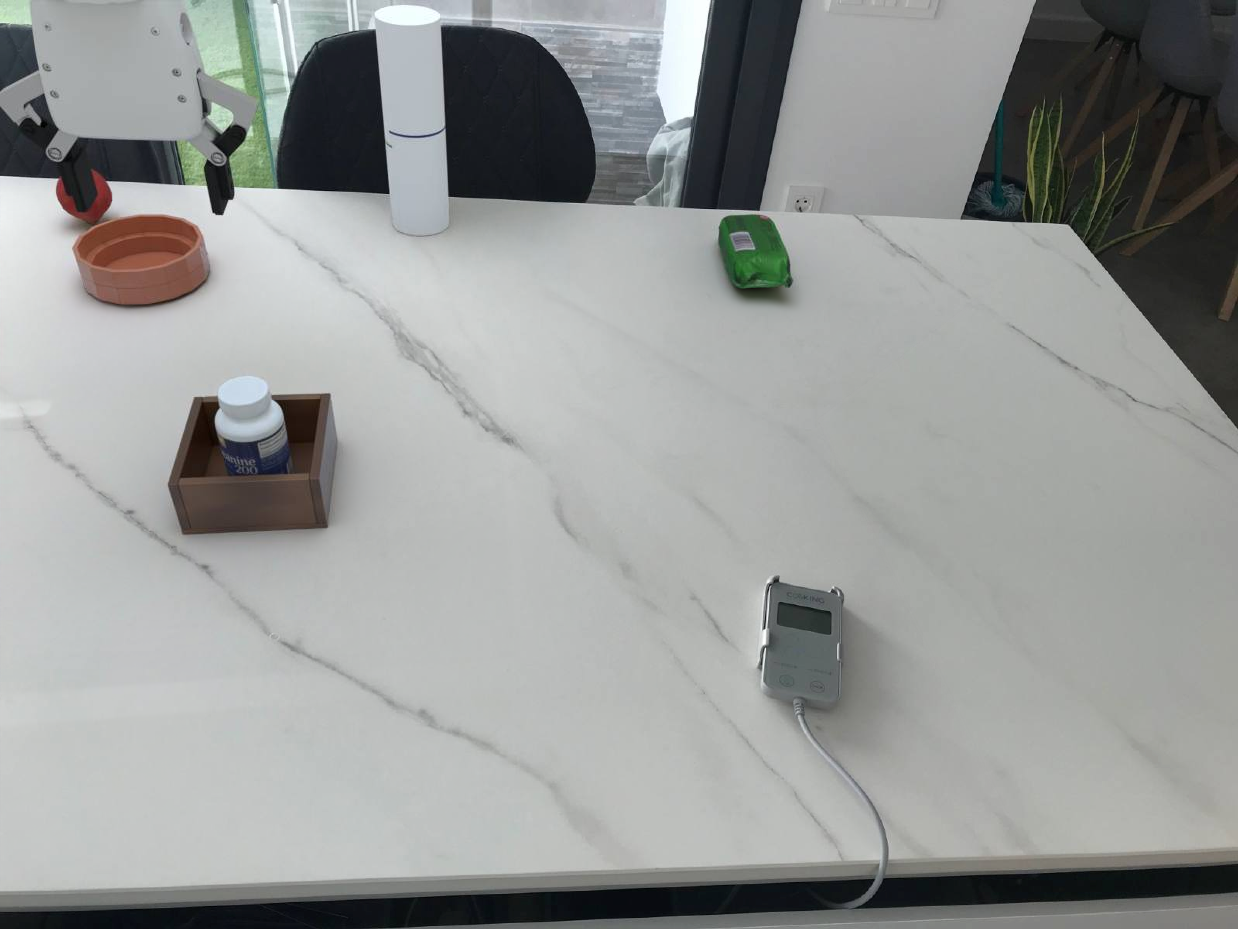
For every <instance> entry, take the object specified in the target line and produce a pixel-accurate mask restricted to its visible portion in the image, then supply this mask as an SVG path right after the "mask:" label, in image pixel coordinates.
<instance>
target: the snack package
mask: <svg viewBox="0 0 1238 929" xmlns="http://www.w3.org/2000/svg"><path fill="white" fill-rule="evenodd" d="M717 242H718V247H719V249H720V252H721V255H722V258H723V263H724V266H725V269H726V272H727V273H728V276H729V279H730V281H731V282H732V284H733V285H735V287H736V288H738V289H751V288H753V289H754V288H775V287H778V286H783V287H784V288H785V289H786V288H787V289H790V288H791V286H792V284H793V283H794V281H795V280H794V279H793V277H792V274H791V261H790V256H789V253H788V251H787V248H786V246H785V244H784V242H783V240H782V237H781V235H780V232H779V229H778V228H777V225H776V224H775V222H774V221H773V220H772V219H771V217H769V216H766V215H763V214H756V213H755V214H754V213H753V214H752V213H749V214H731V215H730V214H729V215H725V216H724V217H722V219H721V221H720V223H719V225H718V238H717Z"/></svg>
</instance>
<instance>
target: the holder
mask: <svg viewBox="0 0 1238 929" xmlns="http://www.w3.org/2000/svg"><path fill="white" fill-rule="evenodd" d="M271 397H272V398H271V399H272V400H273V401H275V402H276V403H277V404H278V405H279V406H280V407H281V409H282V412H283V416H284V421H285V427H286V432H287V437H288V443H289V448H290V453H291V459H292V465H293V472H294V474H276V475H250V476H228V474H227V470H226V466H225V462H224V458H223V455H222V451H221V447H220V443H219V439H218V435H217V431H216V426H215V416H216V414H217V412H218V410H219V409H220V406H219V401H218V396H217V395H212V396H211V395H210V396H209V395H207V396H194V397H193V399H192V402H191V407H190V409H189V413H188V416H187V420H186V423H185V426H184V429H183V432H182V436H181V438H180V443H179V446H178V448H177V452H176V456H175V459H174V462H173V466H172V469H171V472H170V475H169V478H168V482H167V489H168V491H169V495H170V497H171V501H172V504H173V508H174V510H175V514H176V517H177V521H178V524H179V527H180V531H181V534H182V535H190V534H191V535H194V534H195V535H196V534H214V533H215V534H216V533H217V534H219V533H235V532H236V533H237V532H239V533H240V532H257V531H259V532H260V531H279V530H297V529H298V530H300V529H322V528H328V526H329V520H330V519H329V517H330V509H331V501H332V493H333V492H332V491H333V484H334V475H335V467H336V466H335V465H336V458H337V450H338V434H337V428H336V420H335V415H334V414H335V413H334V407H333V401H332V395H331V393H330V392H328V393H327V392H325V393H324V392H323V393H289V394H287V393H286V394H271Z"/></svg>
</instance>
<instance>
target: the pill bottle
mask: <svg viewBox="0 0 1238 929" xmlns="http://www.w3.org/2000/svg"><path fill="white" fill-rule="evenodd" d="M216 393H217V394H216V396H218V401H219V406H220V409H219V410H218V412H217V414H216V416H215V426H216V431H217V435H218V439H219V443H220V447H221V451H222V455H223V458H224V462H225V466H226V470H227V474H228V476H250V475H276V474H294V472H293V465H292V459H291V453H290V448H289V443H288V437H287V432H286V427H285V421H284V416H283V412H282V409H281V407H280V406H279V405H278V404H277V403H276V402H275V401H273V400H272V399H271V398H272V397H271V395H272V394H271V391H270V386H269V384H268V382H267V381H266V380H264V379H262V378H260V377H258V376H253V375H241V376H237V377H233V378H230V379H228V380H226V381H225V382H223V383H222V384H221V385H220V386H219V387H218V389H217V392H216Z"/></svg>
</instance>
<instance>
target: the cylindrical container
mask: <svg viewBox="0 0 1238 929" xmlns="http://www.w3.org/2000/svg"><path fill="white" fill-rule="evenodd" d="M373 16H374V25H375V38H376V48H377V61H378V72H379V73H378V74H379V83H380V96H381V108H382V117H383V119H382V120H383V131H384V132H383V133H384V141H385V142H384V143H385V153H386V165H387V175H388V176H387V177H388V179H387V180H388V188H389V189H388V190H389V201H390V213H391V224H392V226H393V228H394V229H395V230H396V231H397V232H399V233H401V234H405V235H408V236H415V237H426V236H427V237H428V236H432V235H437V234H440V233H442V232H444V231H446V230H447V228H449V226H450V205H449V204H450V203H449V182H448V181H449V180H448V179H449V178H448V159H447V158H448V157H447V138H446V137H447V134H446V115H445V114H446V112H445V92H444V91H445V90H444V68H443V67H444V66H443V64H444V63H443V46H442V44H443V43H442V28H441V27H442V25H441V14H440V13H439V12H438V11H437V10H435V9H433V8H430V7H427V6H421V5H411V4H398V5H397V4H396V5H388V6H385V7H381V8H379V9H377V10H376V11H375V12H374V15H373Z"/></svg>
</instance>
